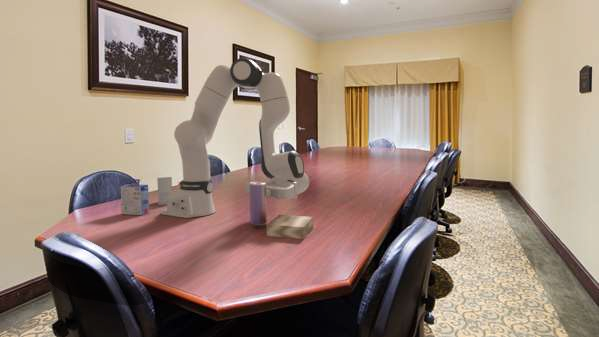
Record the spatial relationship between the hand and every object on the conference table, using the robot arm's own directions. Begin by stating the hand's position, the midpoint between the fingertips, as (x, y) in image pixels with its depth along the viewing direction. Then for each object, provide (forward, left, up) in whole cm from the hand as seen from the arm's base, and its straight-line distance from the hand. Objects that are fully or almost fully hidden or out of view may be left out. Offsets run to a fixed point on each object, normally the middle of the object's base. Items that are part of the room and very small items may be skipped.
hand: (255, 193), depth 130 cm
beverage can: (+1, +1, -12) cm, 12 cm away
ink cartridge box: (-57, +6, -13) cm, 59 cm away
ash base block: (+14, -1, -13) cm, 19 cm away
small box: (-57, +26, -13) cm, 64 cm away
